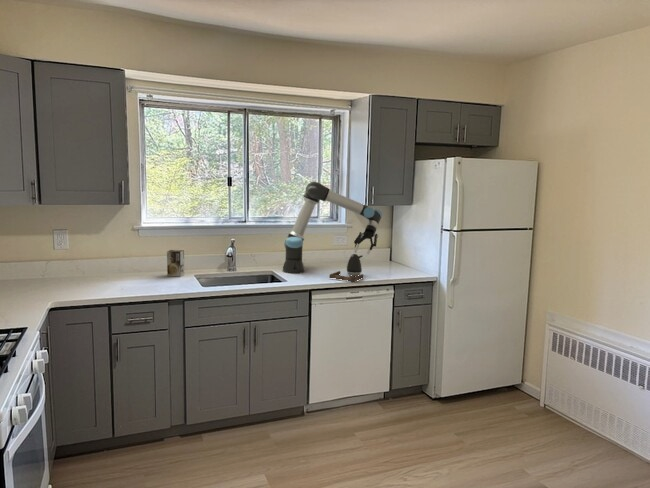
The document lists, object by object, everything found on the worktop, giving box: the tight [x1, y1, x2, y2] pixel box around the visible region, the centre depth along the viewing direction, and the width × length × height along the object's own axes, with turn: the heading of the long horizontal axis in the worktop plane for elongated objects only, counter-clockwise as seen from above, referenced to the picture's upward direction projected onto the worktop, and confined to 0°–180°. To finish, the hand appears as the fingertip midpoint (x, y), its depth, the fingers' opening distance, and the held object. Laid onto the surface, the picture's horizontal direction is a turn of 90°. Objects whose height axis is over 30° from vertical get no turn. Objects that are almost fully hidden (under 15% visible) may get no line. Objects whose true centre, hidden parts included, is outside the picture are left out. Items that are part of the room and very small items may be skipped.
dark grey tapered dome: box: [346, 253, 363, 277], centre depth 326 cm, size 10×10×15 cm
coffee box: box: [166, 249, 185, 277], centre depth 307 cm, size 9×6×16 cm
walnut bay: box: [328, 271, 364, 283], centre depth 316 cm, size 18×14×3 cm
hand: (361, 252), depth 334 cm, fingers open, 9 cm apart
